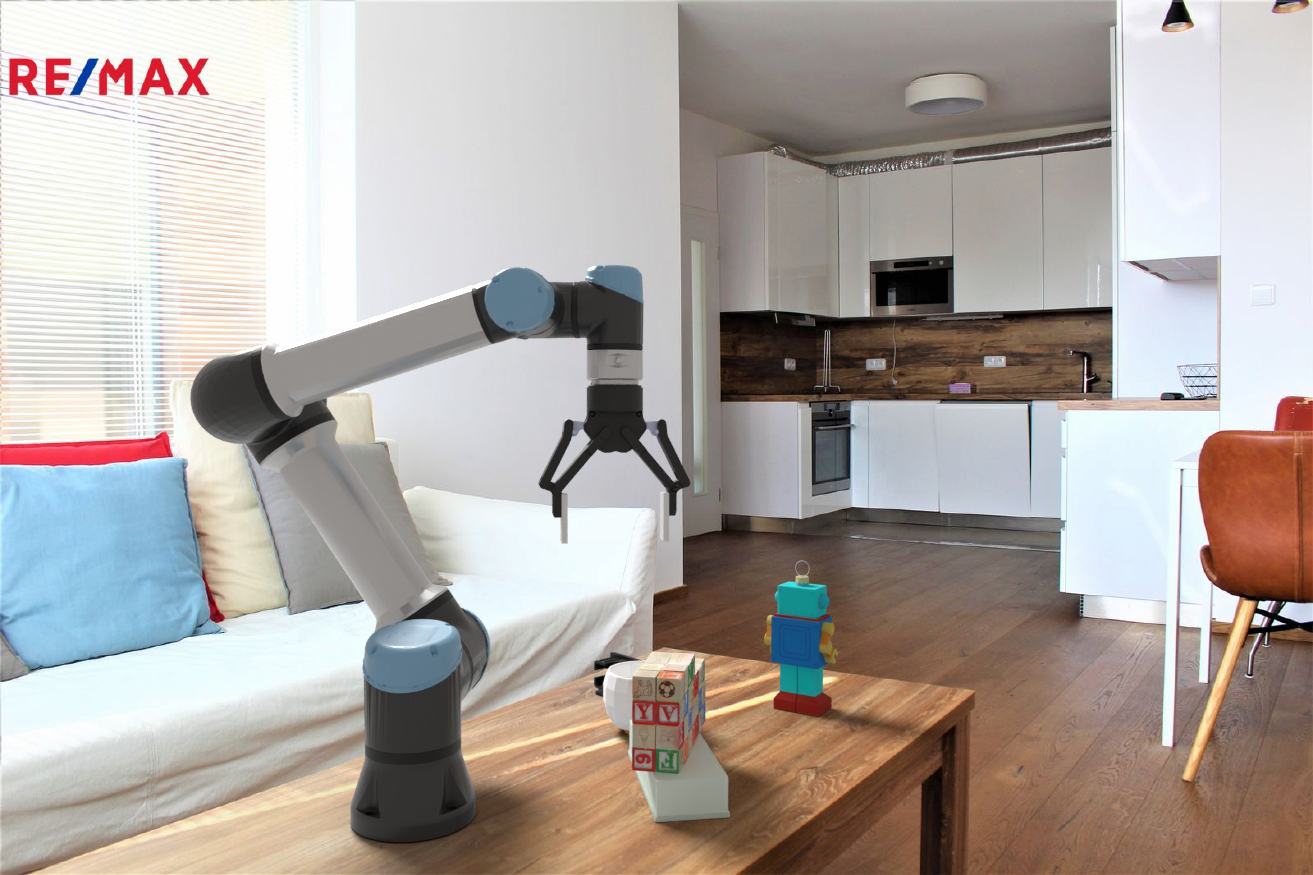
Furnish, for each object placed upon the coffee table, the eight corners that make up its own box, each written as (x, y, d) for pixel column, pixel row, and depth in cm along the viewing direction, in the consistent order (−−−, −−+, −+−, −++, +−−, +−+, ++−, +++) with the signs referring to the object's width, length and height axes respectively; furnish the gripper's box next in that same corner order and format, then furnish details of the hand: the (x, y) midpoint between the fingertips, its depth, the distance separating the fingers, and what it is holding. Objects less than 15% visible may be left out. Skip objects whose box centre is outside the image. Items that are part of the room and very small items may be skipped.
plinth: (655, 822, 127) (655, 782, 126) (627, 753, 151) (627, 719, 150) (729, 817, 128) (730, 777, 128) (690, 750, 152) (691, 716, 152)
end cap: (660, 698, 178) (660, 660, 178) (629, 707, 174) (629, 667, 173) (623, 686, 186) (623, 649, 185) (592, 693, 181) (592, 655, 181)
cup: (662, 714, 169) (663, 656, 169) (695, 738, 158) (695, 675, 157) (592, 724, 164) (592, 664, 164) (620, 748, 153) (620, 684, 152)
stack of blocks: (663, 718, 151) (664, 635, 151) (706, 721, 150) (706, 637, 149) (631, 771, 130) (631, 674, 130) (680, 774, 129) (680, 677, 128)
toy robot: (841, 710, 172) (842, 560, 171) (826, 719, 167) (828, 566, 166) (778, 698, 178) (779, 554, 177) (762, 707, 173) (763, 559, 172)
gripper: (521, 382, 132) (522, 547, 133) (712, 383, 136) (711, 543, 137) (519, 382, 139) (520, 539, 140) (700, 383, 143) (699, 535, 144)
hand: (614, 541), depth 139 cm, fingers open, 13 cm apart
